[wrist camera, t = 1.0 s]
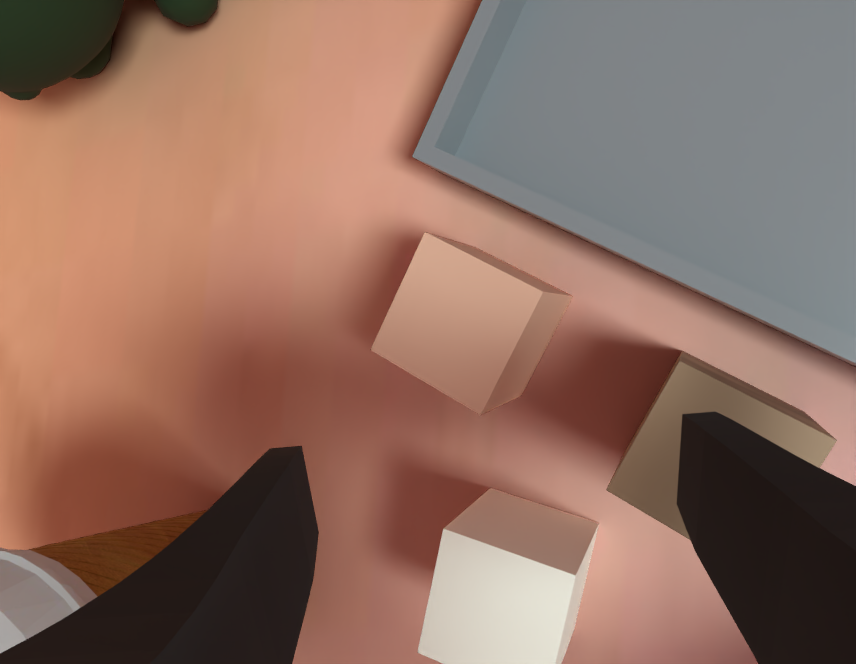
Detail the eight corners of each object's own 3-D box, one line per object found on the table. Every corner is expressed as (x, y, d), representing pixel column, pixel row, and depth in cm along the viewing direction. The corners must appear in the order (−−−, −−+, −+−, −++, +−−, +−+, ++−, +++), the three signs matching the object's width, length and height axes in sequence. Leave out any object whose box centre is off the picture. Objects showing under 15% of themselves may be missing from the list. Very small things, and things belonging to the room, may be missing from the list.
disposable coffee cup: (165, 674, 30) (-141, 884, 19) (149, 466, 30) (-166, 555, 19) (349, 702, 27) (105, 979, 16) (330, 466, 27) (74, 575, 16)
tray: (1248, 0, 17) (1338, -50, 14) (966, 418, 19) (1004, 432, 17) (592, -165, 22) (581, -220, 20) (438, 171, 25) (412, 156, 22)
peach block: (573, 296, 23) (543, 291, 18) (521, 395, 24) (480, 415, 19) (475, 247, 24) (424, 232, 20) (429, 343, 25) (370, 350, 21)
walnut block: (804, 411, 21) (836, 440, 16) (737, 518, 21) (750, 575, 17) (682, 350, 22) (679, 360, 17) (623, 453, 23) (606, 490, 18)
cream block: (599, 522, 23) (575, 575, 18) (573, 629, 23) (544, 707, 19) (490, 487, 24) (443, 528, 20) (468, 589, 25) (417, 652, 20)
